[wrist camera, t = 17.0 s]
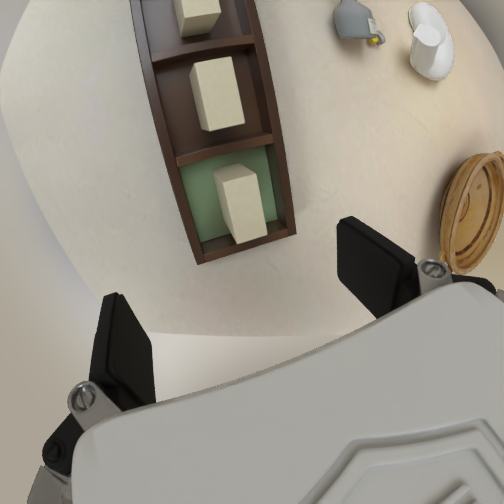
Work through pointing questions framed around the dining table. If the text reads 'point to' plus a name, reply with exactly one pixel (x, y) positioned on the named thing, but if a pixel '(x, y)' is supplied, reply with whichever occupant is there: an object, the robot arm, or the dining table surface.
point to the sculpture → (430, 42)
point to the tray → (222, 140)
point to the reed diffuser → (356, 22)
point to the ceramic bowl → (471, 211)
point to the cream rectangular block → (240, 202)
